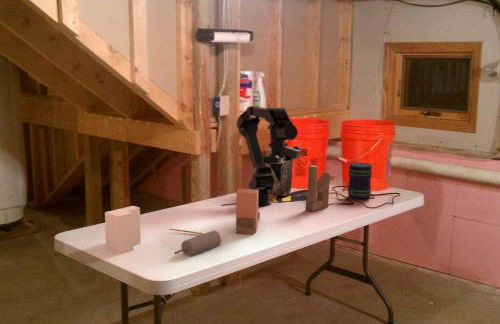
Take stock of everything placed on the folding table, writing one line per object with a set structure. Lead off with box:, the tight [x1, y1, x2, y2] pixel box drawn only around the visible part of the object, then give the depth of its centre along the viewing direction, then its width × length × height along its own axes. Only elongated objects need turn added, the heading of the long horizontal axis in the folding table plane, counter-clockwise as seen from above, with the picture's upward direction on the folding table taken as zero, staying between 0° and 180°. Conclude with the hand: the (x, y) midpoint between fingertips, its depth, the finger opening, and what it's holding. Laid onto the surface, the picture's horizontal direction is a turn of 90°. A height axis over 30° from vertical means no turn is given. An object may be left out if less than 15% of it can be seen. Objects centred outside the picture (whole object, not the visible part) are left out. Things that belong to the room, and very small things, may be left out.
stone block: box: [265, 148, 294, 196], centre depth 241 cm, size 13×7×20 cm, turn 40°
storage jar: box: [347, 161, 373, 202], centre depth 236 cm, size 10×10×15 cm
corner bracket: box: [104, 205, 141, 255], centre depth 170 cm, size 11×11×12 cm
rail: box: [235, 211, 261, 236], centre depth 193 cm, size 20×6×5 cm, turn 171°
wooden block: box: [305, 165, 331, 212], centre depth 217 cm, size 4×11×18 cm, turn 135°
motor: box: [168, 228, 223, 257], centre depth 174 cm, size 23×22×5 cm
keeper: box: [235, 188, 259, 232], centre depth 188 cm, size 5×7×14 cm
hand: (279, 180), depth 208 cm, fingers closed
